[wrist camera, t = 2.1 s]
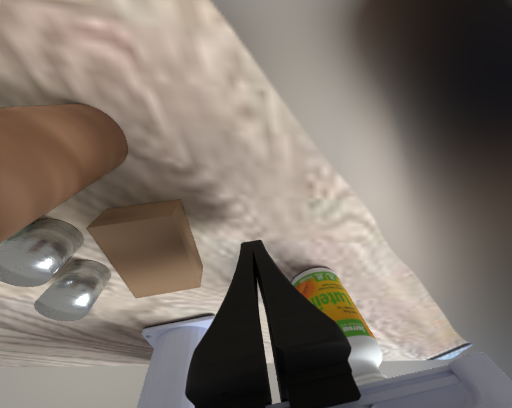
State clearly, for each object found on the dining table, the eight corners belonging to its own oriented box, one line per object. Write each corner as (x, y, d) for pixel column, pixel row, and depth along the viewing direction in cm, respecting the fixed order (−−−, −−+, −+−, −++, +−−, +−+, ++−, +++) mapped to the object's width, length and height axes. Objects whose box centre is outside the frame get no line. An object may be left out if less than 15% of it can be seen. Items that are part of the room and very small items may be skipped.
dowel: (138, 165, 12) (8, 267, 5) (77, 173, 11) (-151, 293, 4) (108, 99, 10) (-176, 109, 3) (35, 108, 9) (-468, 140, 3)
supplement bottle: (336, 260, 19) (423, 390, 10) (335, 291, 22) (404, 413, 13) (285, 273, 19) (331, 415, 10) (291, 302, 22) (331, 432, 13)
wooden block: (203, 263, 17) (200, 287, 15) (147, 272, 17) (135, 298, 14) (181, 196, 13) (172, 215, 11) (109, 206, 13) (86, 228, 11)
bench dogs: (117, 281, 16) (96, 316, 14) (81, 287, 16) (53, 324, 13) (67, 215, 12) (26, 246, 10) (20, 222, 12) (-35, 256, 10)
